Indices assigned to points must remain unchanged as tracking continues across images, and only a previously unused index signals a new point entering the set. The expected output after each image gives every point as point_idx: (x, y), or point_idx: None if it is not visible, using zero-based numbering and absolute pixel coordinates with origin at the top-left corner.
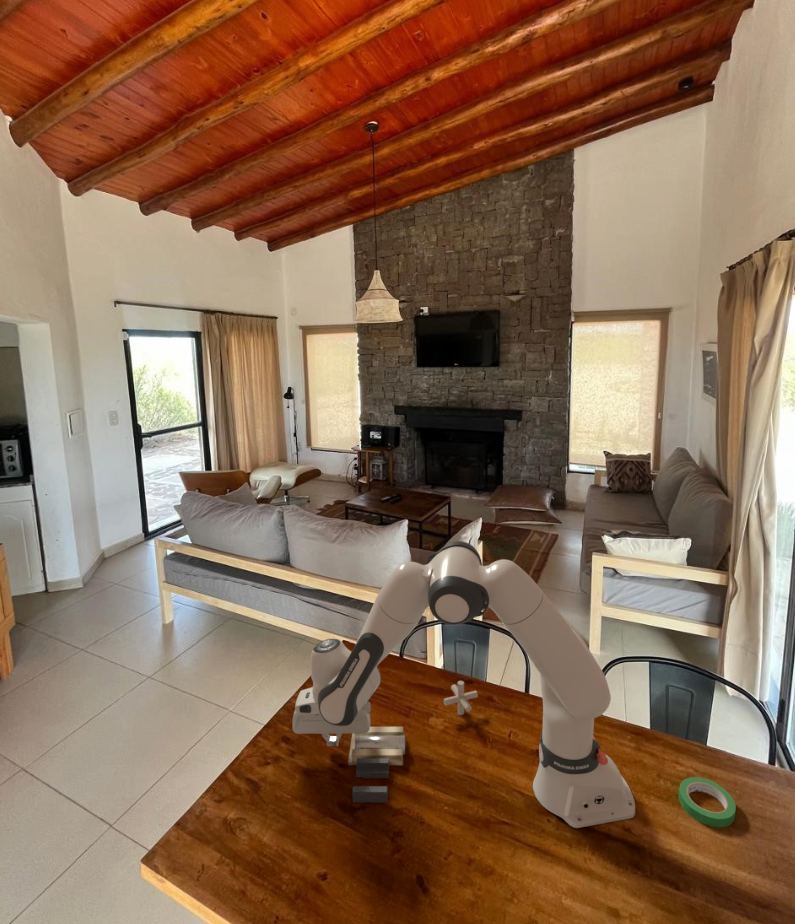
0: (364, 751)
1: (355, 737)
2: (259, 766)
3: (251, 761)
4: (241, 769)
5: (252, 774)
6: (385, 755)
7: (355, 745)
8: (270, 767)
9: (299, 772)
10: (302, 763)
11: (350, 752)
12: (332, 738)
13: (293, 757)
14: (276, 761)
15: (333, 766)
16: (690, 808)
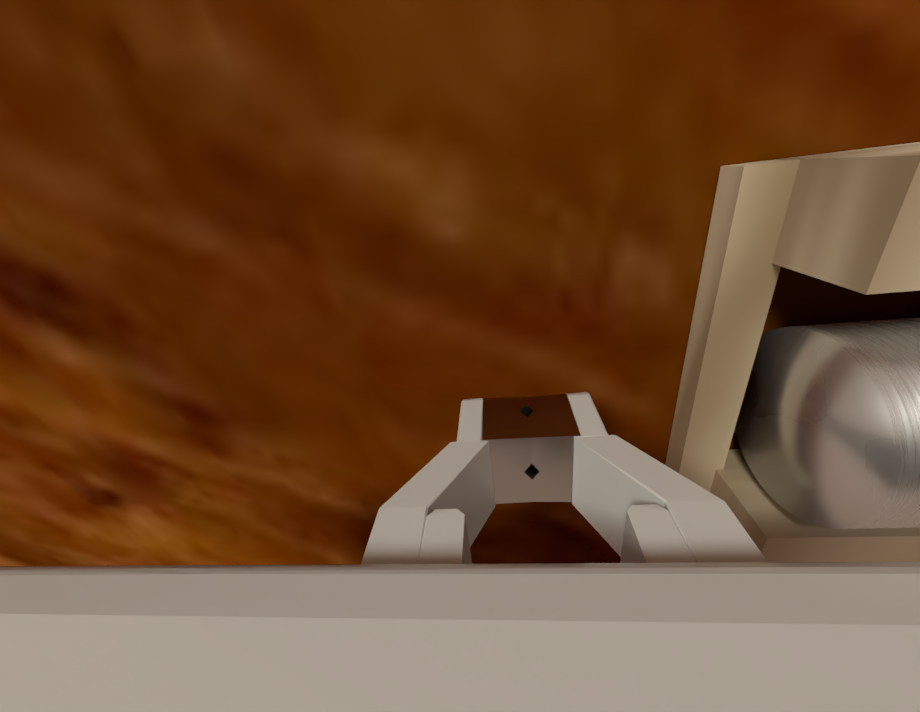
0: (907, 558)
1: (889, 490)
2: (81, 517)
3: (2, 491)
4: (8, 534)
5: (93, 556)
6: None
7: (826, 526)
8: (147, 521)
9: (338, 543)
10: (322, 493)
11: (696, 434)
12: (527, 468)
13: (232, 455)
14: (146, 486)
15: (547, 506)
16: None
